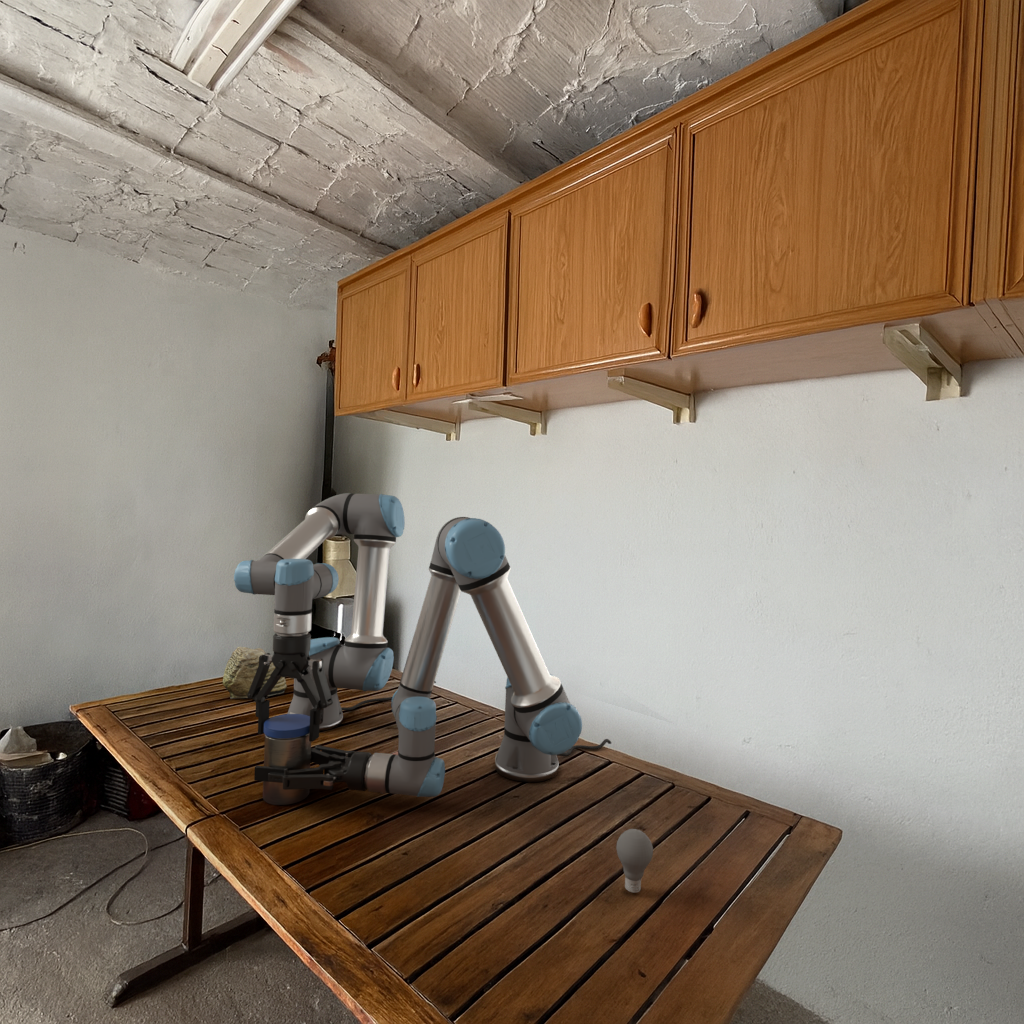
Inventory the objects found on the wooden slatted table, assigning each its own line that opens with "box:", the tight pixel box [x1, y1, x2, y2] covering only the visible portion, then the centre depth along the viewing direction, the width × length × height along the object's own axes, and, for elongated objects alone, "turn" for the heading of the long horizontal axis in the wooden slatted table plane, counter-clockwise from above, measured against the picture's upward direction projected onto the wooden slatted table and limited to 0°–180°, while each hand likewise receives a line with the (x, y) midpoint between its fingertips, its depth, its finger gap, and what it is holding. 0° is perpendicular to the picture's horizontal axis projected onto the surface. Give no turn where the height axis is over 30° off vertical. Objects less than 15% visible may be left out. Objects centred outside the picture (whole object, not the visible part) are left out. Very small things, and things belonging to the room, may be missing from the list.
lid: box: [263, 713, 310, 739], centre depth 134 cm, size 10×10×2 cm
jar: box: [262, 733, 312, 806], centre depth 134 cm, size 9×9×15 cm
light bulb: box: [615, 828, 654, 894], centre depth 106 cm, size 6×6×10 cm
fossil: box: [222, 646, 288, 699], centre depth 198 cm, size 9×18×15 cm, turn 132°
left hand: (288, 735), depth 134 cm, fingers open, 11 cm apart
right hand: (267, 762), depth 134 cm, fingers closed on jar, 9 cm apart
